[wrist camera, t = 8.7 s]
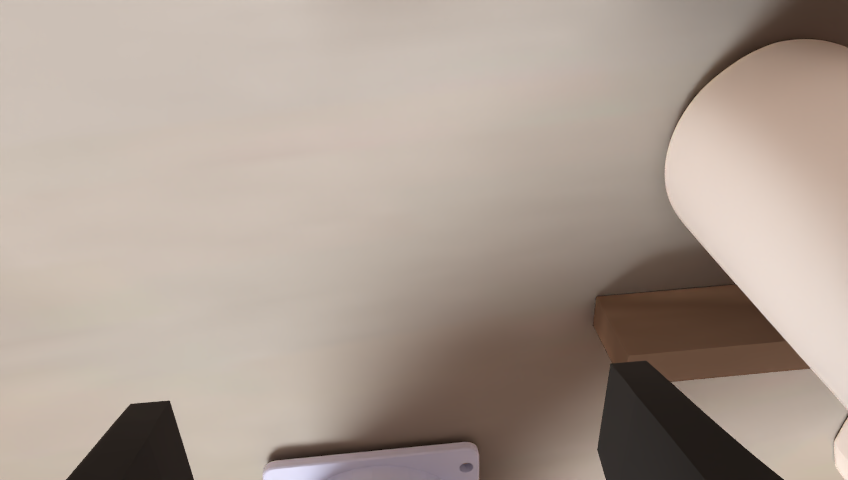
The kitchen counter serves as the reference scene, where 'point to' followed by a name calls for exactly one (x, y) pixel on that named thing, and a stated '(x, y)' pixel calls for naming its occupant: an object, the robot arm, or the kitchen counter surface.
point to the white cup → (842, 451)
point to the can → (775, 191)
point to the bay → (693, 333)
